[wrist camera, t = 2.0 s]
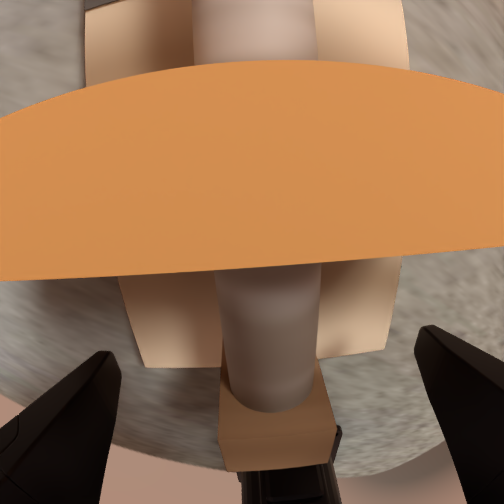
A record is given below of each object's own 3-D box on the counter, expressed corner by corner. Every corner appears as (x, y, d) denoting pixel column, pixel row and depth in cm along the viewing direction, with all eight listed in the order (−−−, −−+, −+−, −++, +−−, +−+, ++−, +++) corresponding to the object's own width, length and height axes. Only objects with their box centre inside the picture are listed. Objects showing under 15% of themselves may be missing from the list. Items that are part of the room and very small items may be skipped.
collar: (440, 169, 9) (583, 236, 3) (66, 193, 9) (-70, 282, 3) (442, 110, 8) (596, 135, 2) (56, 132, 8) (-98, 174, 2)
